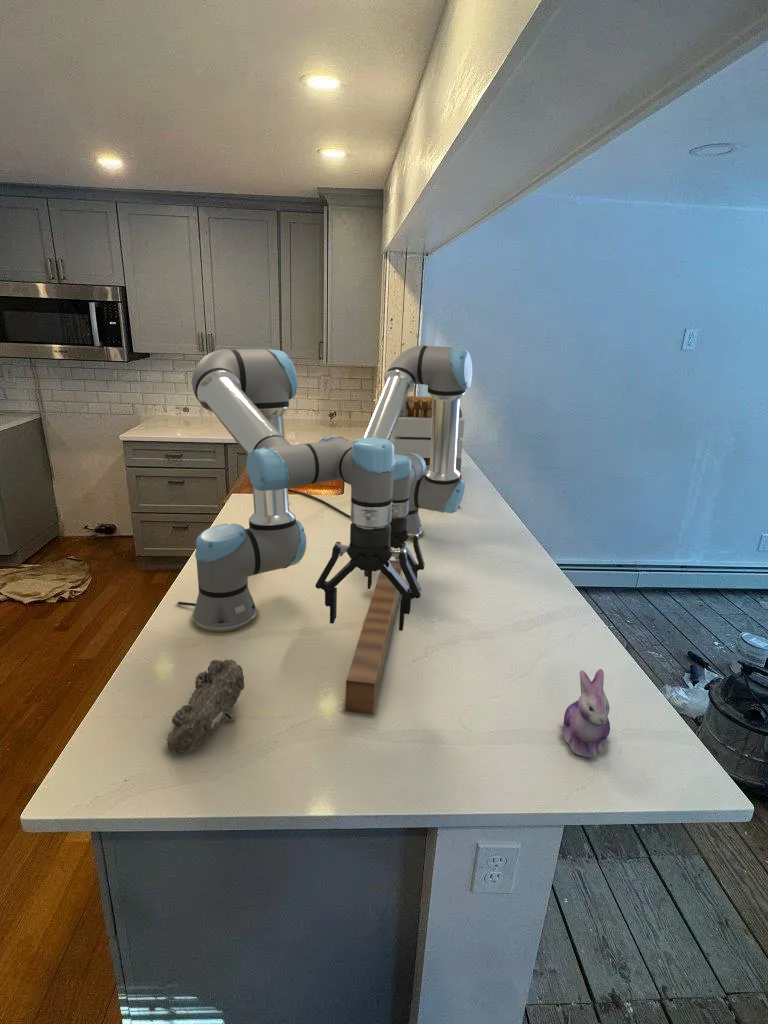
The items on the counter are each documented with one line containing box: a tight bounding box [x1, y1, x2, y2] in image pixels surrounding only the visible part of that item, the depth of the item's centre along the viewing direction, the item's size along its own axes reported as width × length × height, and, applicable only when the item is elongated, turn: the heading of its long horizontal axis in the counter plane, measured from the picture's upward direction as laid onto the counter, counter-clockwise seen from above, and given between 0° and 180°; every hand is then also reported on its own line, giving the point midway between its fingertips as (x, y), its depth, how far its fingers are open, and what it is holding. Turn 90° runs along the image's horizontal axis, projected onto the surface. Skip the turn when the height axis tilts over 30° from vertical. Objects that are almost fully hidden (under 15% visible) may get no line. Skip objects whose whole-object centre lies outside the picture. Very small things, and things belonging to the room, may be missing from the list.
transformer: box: [389, 395, 465, 475], centre depth 268 cm, size 34×33×41 cm
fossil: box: [166, 658, 245, 754], centre depth 106 cm, size 22×10×15 cm
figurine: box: [562, 668, 611, 758], centre depth 104 cm, size 9×10×15 cm
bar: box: [344, 559, 403, 716], centre depth 136 cm, size 56×6×7 cm, turn 173°
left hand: (367, 623), depth 112 cm, fingers open, 13 cm apart
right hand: (389, 588), depth 157 cm, fingers open, 11 cm apart
